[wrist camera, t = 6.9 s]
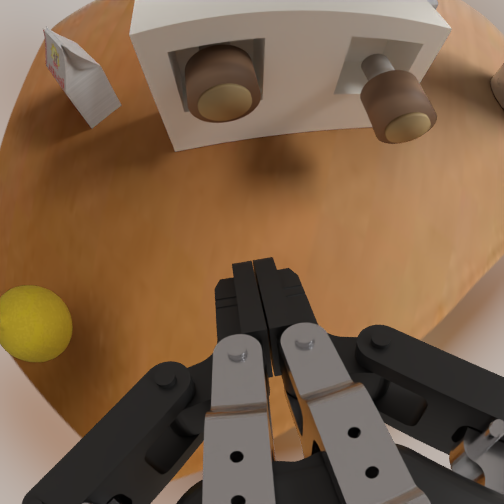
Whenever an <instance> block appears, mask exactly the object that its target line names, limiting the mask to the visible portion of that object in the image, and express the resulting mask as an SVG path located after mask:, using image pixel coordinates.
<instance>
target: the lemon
mask: <svg viewBox="0 0 504 504" xmlns="http://www.w3.org/2000/svg"><path fill="white" fill-rule="evenodd" d="M72 329H73V327H72V319H71V315H70V312H69V310H68V308H67V306H66V304H65V303H64V302H63V300H62V299H61V298H60V297H59V296H57V295H56V294H55V293H54V292H52V291H50V290H48V289H46V288H43V287H40V286H34V285H23V286H18V287H15V288H12V289H10V290H8V291H7V292H6V293H5V294H3V295H2V296H1V298H0V344H1V346H2V347H3V348H4V349H5V350H6V351H7V352H8V353H9V354H11V355H12V356H14V357H16V358H18V359H21V360H24V361H27V362H46V361H49V360H51V359H54V358H56V357H57V356H59V355H60V354H61V353H62V352H63V351H64V350H65V349H66V347H67V346H68V344H69V342H70V339H71V336H72Z"/></svg>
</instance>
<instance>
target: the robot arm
mask: <svg viewBox="0 0 504 504" xmlns="http://www.w3.org/2000/svg"><path fill="white" fill-rule="evenodd" d="M491 88H492V91H493V93H494V95H495V97H496V99H497V100H498V102H499V103H500V105H501V106H502V108H503V109H504V64H503V65H502V66H501V67H500V69H499V70H498V71H497V72H496V74H495V75H494V76H493V77H492V79H491ZM253 266H254V270H253ZM232 268H233V275H234V277H233V278H227V279H221V280H220V281H219V282H218V284H217V286H216V288H215V301H216V302H215V305H216V323H217V339H218V341H217V345H216V347H215V349H214V352H213V354H212V355H211V356H210V357H209V358H207V359H206V360H204V361H203V362H201V363H198V364H196V365H193V366H191V367H189V368H186V367H185V366H184V365H182V364H181V363H178V362H171V361H170V362H163V363H160V364H158V365H156V366H154V367H153V368H151V369H150V370H149V371H148V372H147V373H146V374H145V375H144V376H143V377H142V378H141V379H140V380H139V381H138V382H137V384H136V385H135V386H134V387H133V388H132V389H131V390H130V391H129V392H128V393H127V394H126V395H125V396H124V397H123V398H122V399H121V400H120V401H119V402H118V403H117V404H116V405H115V406H114V407H113V408H112V409H111V410H110V411H109V412H108V413H107V414H106V415H105V416H104V417H103V418H102V419H101V420H100V421H99V422H98V423H97V424H96V425H95V426H94V427H93V428H92V429H91V430H90V431H89V432H88V433H87V434H86V435H85V436H84V437H83V438H82V439H81V440H80V441H79V442H78V443H77V444H76V445H75V446H74V447H73V448H72V449H71V450H70V451H69V452H68V453H67V454H66V455H65V456H64V457H63V458H62V459H61V460H60V461H59V462H58V463H57V464H56V465H55V466H54V467H53V468H52V469H51V470H50V471H49V472H48V473H47V474H46V475H45V476H44V477H43V478H42V479H41V480H40V481H39V482H38V483H37V484H36V485H35V486H34V487H33V488H32V489H31V490H30V491H29V492H28V493H27V494H26V496H25V497H24V499H23V502H22V504H150V503H151V502H152V501H153V500H154V499H155V498H156V497H157V495H158V494H159V493H160V492H161V491H162V490H163V488H164V487H165V486H166V485H167V484H168V483H169V482H170V481H171V479H172V478H173V477H174V476H175V475H176V473H177V472H178V471H179V470H180V469H181V467H182V466H183V465H184V464H185V463H186V461H187V460H188V459H189V458H190V457H191V455H192V454H193V453H194V452H195V450H196V449H197V448H198V447H199V446H200V444H201V443H202V442H203V441H204V453H203V480H201V481H199V482H198V483H196V484H195V485H194V486H192V487H191V488H190V489H189V490H188V491H187V492H186V493H185V494H184V495H183V496H182V497H181V498H180V500H179V501H178V502H177V504H504V377H502V376H499V375H497V374H495V373H493V372H490V371H488V370H486V369H483V368H481V367H479V366H477V365H474V364H472V363H470V362H468V361H465V360H463V359H461V358H458V357H456V356H454V355H452V354H449V353H447V352H445V351H443V350H440V349H438V348H436V347H434V346H431V345H429V344H427V343H425V342H422V341H420V340H418V339H416V338H413V337H411V336H409V335H407V334H405V333H402V332H400V331H398V330H396V329H393V328H391V327H389V326H385V325H372V326H369V327H367V328H365V329H363V330H362V331H361V332H360V334H359V335H358V337H338V336H334V335H331V334H329V333H327V332H326V331H325V330H324V329H323V328H322V327H321V326H319V325H318V323H317V321H316V319H315V316H314V314H313V311H312V309H311V306H310V304H309V301H308V299H307V296H306V294H305V292H304V289H303V287H302V284H301V282H300V279H299V277H298V275H297V274H296V273H294V272H293V271H292V270H291V269H289V268H286V269H281V270H277V269H276V266H275V263H274V260H273V257H270V258H264V259H258V260H253V265H252V261H247V262H241V263H235V264H232ZM254 273H255V274H254ZM271 361H272V366H273V370H274V375H275V376H279V375H282V379H283V383H284V392H285V397H286V400H287V403H288V406H289V409H290V412H291V415H292V418H293V420H294V423H295V426H296V429H297V432H298V435H299V438H300V441H301V446H302V451H303V455H304V459H302V460H300V461H296V462H285V461H276V459H275V450H274V442H273V432H272V422H271V412H270V402H269V395H270V387H269V380H268V378H269V377H273V374H272V366H271ZM384 423H386V424H388V425H390V426H392V427H393V428H395V429H397V430H399V431H401V432H403V433H405V434H407V435H409V436H411V437H413V438H415V439H417V440H419V441H421V442H423V443H425V444H427V445H429V446H431V447H434V448H436V449H438V450H440V451H442V452H444V453H446V454H448V455H449V461H450V465H451V469H452V470H450V469H448V468H446V467H444V466H442V465H440V464H438V463H436V462H434V461H432V460H430V459H428V458H427V457H425V456H423V455H421V454H419V453H417V452H415V451H414V450H412V449H410V448H407V447H405V446H402V445H399V444H395V443H394V441H393V439H392V437H391V435H390V433H389V432H388V429H387V428H386V426H385V424H384Z"/></svg>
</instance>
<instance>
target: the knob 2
mask: <svg viewBox="0 0 504 504" xmlns="http://www.w3.org/2000/svg"><path fill="white" fill-rule="evenodd" d="M361 68H362V70H363V72H364V74H365V76H366V78H367V80H368V82H367V83H366V84H365V85H364V87H363V88H362V90H361V93H360V99H361V102H362V104H363V106H364V108H365V111H366V113H367V115H368V118H369V120H370V122H371V125H372V127H373V129H374V132H375V134H376V137H377V138H378V139H379V140H380V141H382V142H384V143H390V144H395V143H403V142H408V141H411V140H414V139H416V138H418V137H420V136H422V135H423V134H425V133H426V132H427V131H429V130H430V129H431V128H432V127H433V125H434V124H435V122H436V119H437V115H436V113H435V111H434V109H433V107H432V105H431V103H430V101H429V99H428V97H427V96H426V94H425V92H424V90H423V88H422V87H421V85H420V83H419V81H418V80H417V78H416V77H415V76H414V75H413V74H412V73H410V72H408V71H404V70H395V69H394V68H393V66H392V64H391V63H390V61H389V59H388V58H387V57H386V56H385V55H383V54H373V55H370V56H368V57H366V58H365V59H364V60H363V62H362V64H361Z"/></svg>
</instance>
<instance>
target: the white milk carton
mask: <svg viewBox="0 0 504 504" xmlns="http://www.w3.org/2000/svg"><path fill="white" fill-rule="evenodd" d="M43 31H44V35H45V46H46V66H47V67H48V69H49V70H50V72H51V73H52V75H53V76H54V78H55V79H56V81H57V82H58V83H59V85H60V86H61V88H62V89H63V91H64V92H65V93H66V95H67V96H68V98H69V99H70V100H71V102H72V103H73V104H74V106H75V107H76V108H77V110H78V111H79V112H80V114H81V115H82V116H83V118H84V119H85V120H86V122H87V123H88V124H89V126H90V127H91V128H93V127H95V126H96V125H97V124H98V123H100V122H101V121H102V120H103V119H105V118H106V117H107V116H108V115H110V114H111V113H112V112H114V111H115V110H116V109H117V108H119V107H120V106H121V103H120V102H119V100H118V98H117V96H116V94H115V92H114V90H113V89H112V87H111V85H110V83H109V81H108V79H107V77H106V75H105V73H104V71H103V70H102V68H101V66H100V65H99V64H98V63H97V62H96V61H95V60H94V59H93V58H92V57H91V56H90V55H88V54H87V53H86V52H85V51H84V50H83V49H82V48H81V47H80V46H79V45H78V44H77V43H75V42H73V41H71V40H69V39H67V38H65V37H62V36H60V35H58V34H56V33H54V32H53V31H51V30H50V29H48V28H47V27H46V29H43Z"/></svg>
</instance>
